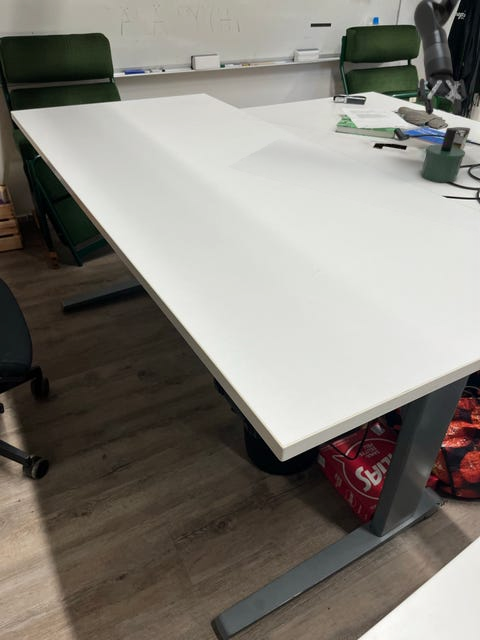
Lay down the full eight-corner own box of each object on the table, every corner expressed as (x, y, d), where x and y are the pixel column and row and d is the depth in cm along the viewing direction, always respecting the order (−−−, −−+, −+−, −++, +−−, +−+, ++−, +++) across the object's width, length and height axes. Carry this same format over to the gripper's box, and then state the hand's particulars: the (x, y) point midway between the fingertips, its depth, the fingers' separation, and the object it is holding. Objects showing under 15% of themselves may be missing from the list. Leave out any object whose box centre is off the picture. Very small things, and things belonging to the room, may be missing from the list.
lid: (464, 152, 145) (472, 127, 141) (463, 162, 137) (471, 136, 133) (427, 146, 148) (433, 122, 144) (423, 156, 140) (430, 131, 136)
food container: (442, 154, 164) (451, 124, 158) (460, 158, 161) (470, 127, 155) (434, 164, 155) (443, 133, 149) (453, 169, 153) (463, 137, 147)
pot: (456, 174, 149) (464, 150, 145) (455, 184, 141) (463, 159, 137) (422, 168, 152) (428, 144, 148) (419, 178, 144) (425, 154, 140)
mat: (408, 144, 173) (408, 143, 173) (404, 153, 165) (404, 152, 164) (377, 140, 176) (378, 139, 176) (372, 148, 168) (372, 147, 168)
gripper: (421, 54, 140) (427, 105, 138) (466, 55, 142) (473, 106, 139) (409, 71, 147) (415, 120, 145) (452, 72, 149) (459, 120, 147)
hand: (444, 113), depth 142 cm, fingers open, 8 cm apart
